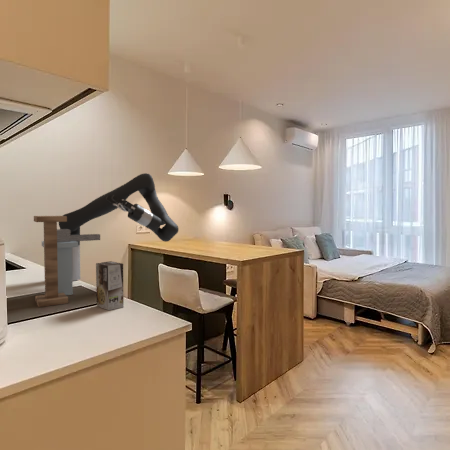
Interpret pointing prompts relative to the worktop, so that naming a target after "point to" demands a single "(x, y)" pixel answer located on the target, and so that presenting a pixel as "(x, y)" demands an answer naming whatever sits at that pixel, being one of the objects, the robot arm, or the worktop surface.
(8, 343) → the worktop surface
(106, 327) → the worktop surface
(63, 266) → the slate stand
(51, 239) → the wooden pedestal stand
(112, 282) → the coffee box
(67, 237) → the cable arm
